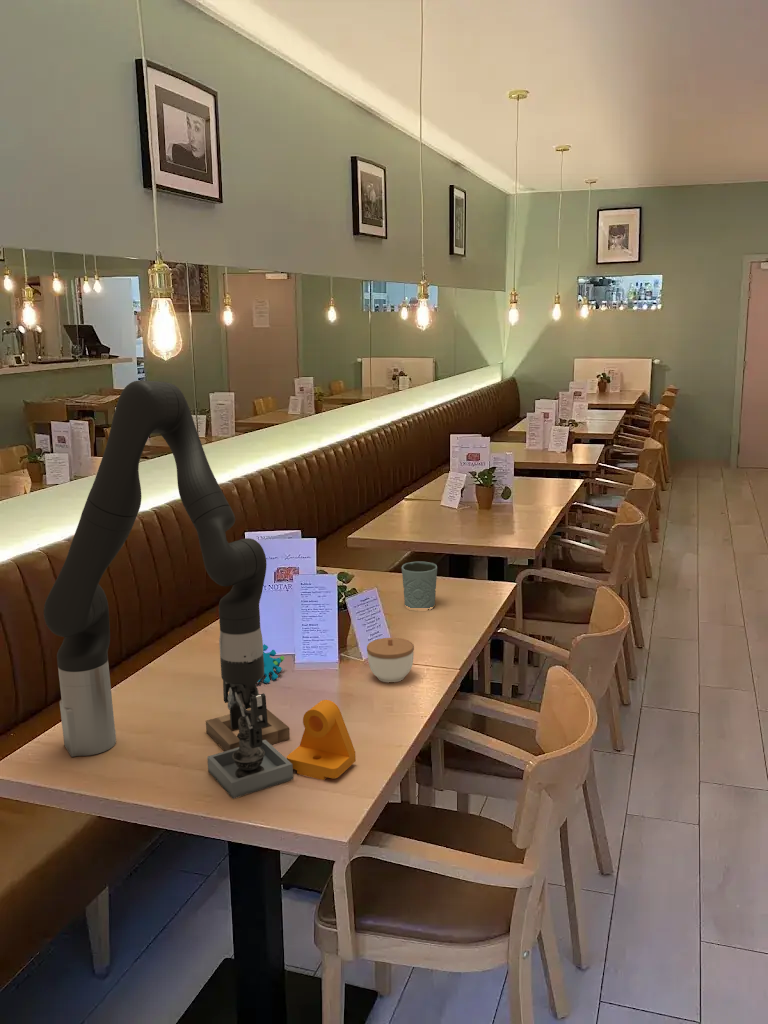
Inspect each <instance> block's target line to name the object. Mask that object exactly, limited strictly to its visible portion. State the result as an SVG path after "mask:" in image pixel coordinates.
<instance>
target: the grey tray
mask: <svg viewBox="0 0 768 1024" xmlns="http://www.w3.org/2000/svg"><path fill="white" fill-rule="evenodd" d="M259 747H260V748H262V749H263V750H264V751H265V755H264V757H263V761H262V763H261V765H260V766H262V767H263V768H264V771H261V772H258V773H255V774H251V775H248V776H245V777H242V778H238V777H237V776H236V775H235V772H236V770H237V769H238V768H239V767H237V765H236V764H235V762H234V759H233V758H232V755H233V753H234V752H235V751H236V750H238V749H239V747H238V748H235V749H231V750H228V751H224V750H223V751H221V752H219V753H215V754H210V755H208V756H207V757H206V759H207V769H208V770H207V772H208V773H209V774H210V775H211V776H212V778H214V780H215V781H216V782H217V783H218V784H219V786H221V788H223V790H224V791H225V792H226V793H227V794H228V795H229V796H230V797H231V799H233V800H234V799H237V798H240V797H243V796H246V795H250V794H252V793H255V792H258V791H262V790H264V789H268V788H271V787H274V786H277V785H281V784H283V783H287V782H289V781H290V782H291V781H292V780H294V769H293V765H292V763H291V762H290V761H288V760H287V757H286V756H284V755H283V754H282V753H281V752H279V750H277V748H275V747H274V745H273V744H272V745H271V744H270V743H269V742H267V741H266V740H262V745H261V746H259Z"/></svg>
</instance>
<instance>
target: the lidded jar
mask: <svg viewBox="0 0 768 1024" xmlns="http://www.w3.org/2000/svg"><path fill="white" fill-rule="evenodd" d="M414 650H415V645H414V643H413V642H412V641H410V640H409V639H405V638H400V637H383V638H377V639H375V640H372V641H370V642H368V644H367V645H366V652H367V661H368V666H369V668H370V671H371V672H372V674H373V675H374V676H375V677H377V679H378V681H380V682H382V683H389V682H394V683H398V682H401V680H402V681H403V680H404V679H405V677H406V676H408V674H409V673H410V671H411V670H412V667H413V663H414V655H415V654H414V653H415V651H414ZM389 684H390V683H389Z"/></svg>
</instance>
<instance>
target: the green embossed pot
mask: <svg viewBox="0 0 768 1024" xmlns="http://www.w3.org/2000/svg"><path fill="white" fill-rule="evenodd" d="M401 574H402V575H401V576H402V585H403V586H402V587H403V597H404V598H403V599H404V606H405V605H406V606H408V607H410V608H430V607H433V606H434V605H436V595H437V594H436V592H437V591H436V589H437V577H438V576H437V575H438V566H437V564H436V563H434V562H428V561H411V562H405V563H403V564H402V565H401Z"/></svg>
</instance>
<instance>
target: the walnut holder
mask: <svg viewBox="0 0 768 1024" xmlns="http://www.w3.org/2000/svg"><path fill="white" fill-rule="evenodd" d="M246 710H251V708H249V709H246ZM261 716H262V715H261ZM257 720H258V719H257ZM267 720H268V726H267V727H263V728H262V740H266V741H267V742H269V743H270V744H271V745H272V746H273V745H275V744H277V743H280V742H285V741H288V740H290V739H291V736H290V734H291V733H290V727H289V725H287V724H286V723H284V722H283V721H282V720H281V719H280V718H279V717H277V716H276V715H275V714H274V713H273V712H271V711H270V710H269V709H268V708H267ZM237 730H238V729H235V730H234V731H237ZM205 731H206V734H207V735H208V736H210V738H211V739H212V740H213V741H214V742H215V743H216V742H217V743H218V744H219V745H220V746H221V747H222V748H223V749H224V750H223V749H222V748H221V747H220V746H219V745H218V744H217V743H216V744H217V745H218V746H219V747H220V748H221V749H222V750H223V752H224V751H228V750H231V749H235V748H238V747H240V744H239V738H238V737H237V734H235V733H234V731H233V729H232V728H231V722H230V713H229V714H225V715H223V716H222V715H221V716H218V717H215V718H210V719H207V720H205Z"/></svg>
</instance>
